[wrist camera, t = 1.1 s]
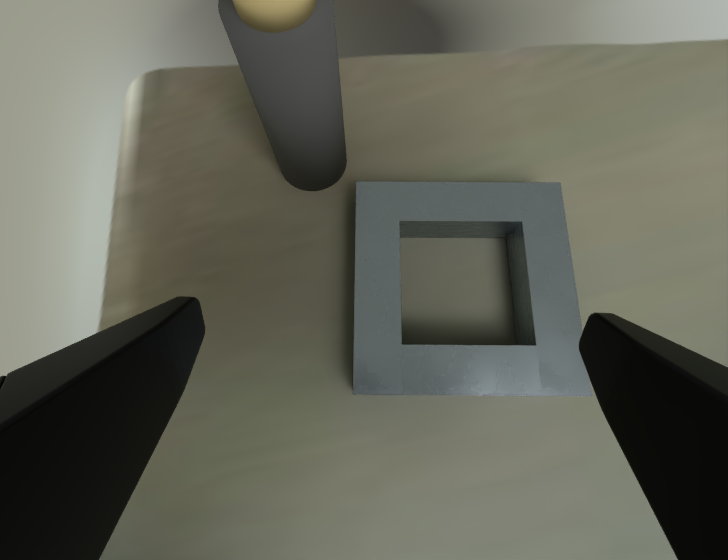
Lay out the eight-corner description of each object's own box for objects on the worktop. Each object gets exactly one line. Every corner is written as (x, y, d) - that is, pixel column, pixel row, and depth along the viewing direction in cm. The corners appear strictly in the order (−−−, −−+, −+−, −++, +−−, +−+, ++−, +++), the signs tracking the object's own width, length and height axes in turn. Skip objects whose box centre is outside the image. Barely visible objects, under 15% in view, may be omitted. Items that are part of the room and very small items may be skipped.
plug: (345, 191, 25) (327, 8, 13) (277, 190, 25) (194, 7, 13) (347, 132, 26) (331, -86, 14) (282, 132, 26) (210, -86, 14)
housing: (566, 394, 21) (592, 396, 19) (354, 392, 21) (353, 394, 19) (541, 202, 24) (560, 182, 22) (357, 201, 24) (356, 181, 22)
